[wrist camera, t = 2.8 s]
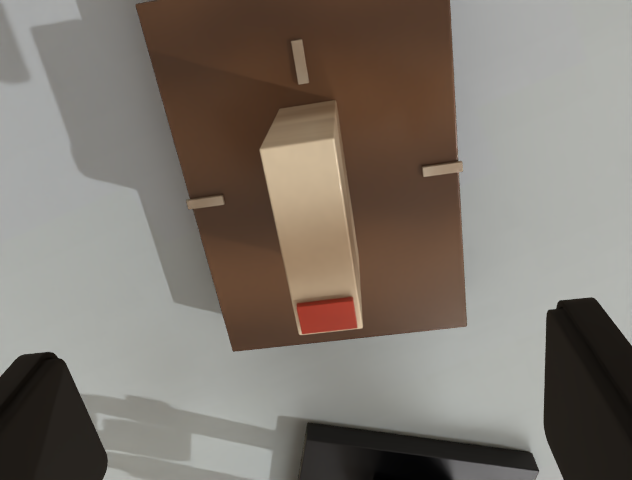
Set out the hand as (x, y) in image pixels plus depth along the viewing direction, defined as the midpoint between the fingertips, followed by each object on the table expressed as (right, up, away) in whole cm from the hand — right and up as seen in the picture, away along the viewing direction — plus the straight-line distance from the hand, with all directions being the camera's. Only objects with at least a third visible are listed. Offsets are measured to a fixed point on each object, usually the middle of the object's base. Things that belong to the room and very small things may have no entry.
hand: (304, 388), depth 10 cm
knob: (0, +5, +9) cm, 11 cm away
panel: (+1, +6, +12) cm, 13 cm away
